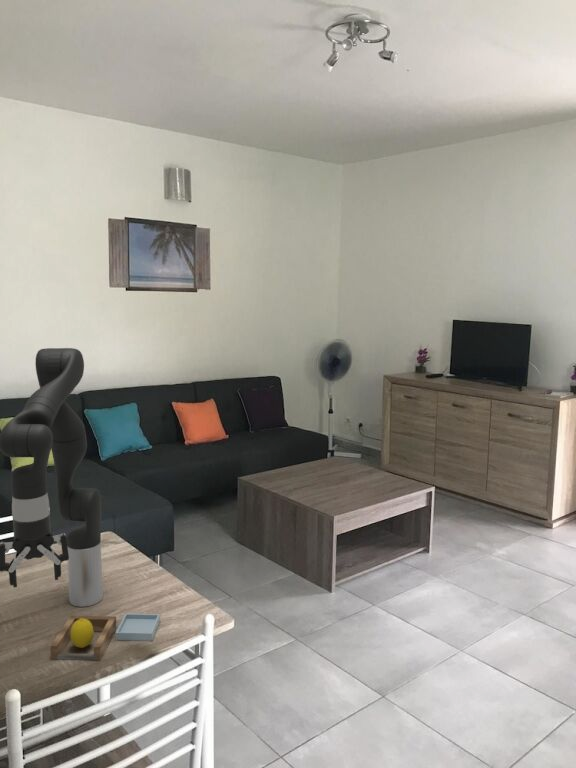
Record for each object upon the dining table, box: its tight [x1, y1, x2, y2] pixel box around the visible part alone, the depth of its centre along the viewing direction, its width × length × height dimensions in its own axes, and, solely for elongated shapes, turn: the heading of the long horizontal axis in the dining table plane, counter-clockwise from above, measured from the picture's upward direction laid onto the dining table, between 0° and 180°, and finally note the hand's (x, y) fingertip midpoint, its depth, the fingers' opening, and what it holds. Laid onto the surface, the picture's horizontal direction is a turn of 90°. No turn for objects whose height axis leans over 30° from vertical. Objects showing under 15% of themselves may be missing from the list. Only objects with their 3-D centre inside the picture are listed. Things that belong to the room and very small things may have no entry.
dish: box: [115, 613, 161, 642], centre depth 167 cm, size 9×9×2 cm
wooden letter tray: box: [50, 615, 117, 661], centre depth 160 cm, size 14×12×4 cm
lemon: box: [70, 618, 95, 649], centre depth 158 cm, size 6×6×8 cm
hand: (35, 582), depth 140 cm, fingers open, 8 cm apart
